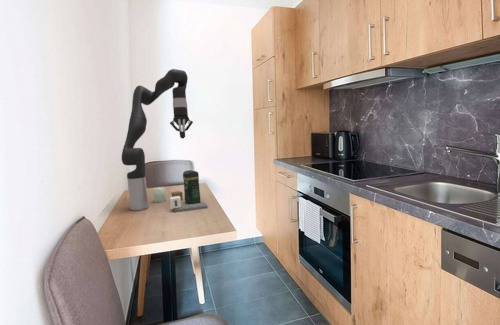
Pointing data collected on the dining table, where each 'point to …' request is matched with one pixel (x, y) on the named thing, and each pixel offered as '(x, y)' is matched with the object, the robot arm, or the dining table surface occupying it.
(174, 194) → the walnut block
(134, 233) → the dining table surface
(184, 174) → the coffee jar
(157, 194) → the pale green rounded block
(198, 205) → the counting rail
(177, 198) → the counting knob
